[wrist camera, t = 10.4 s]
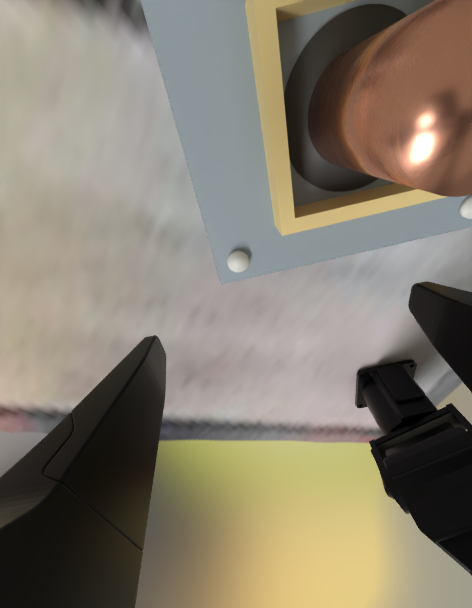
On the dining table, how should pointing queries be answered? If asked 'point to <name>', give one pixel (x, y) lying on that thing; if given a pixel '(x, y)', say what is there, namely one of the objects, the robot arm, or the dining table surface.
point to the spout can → (403, 102)
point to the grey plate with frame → (279, 133)
